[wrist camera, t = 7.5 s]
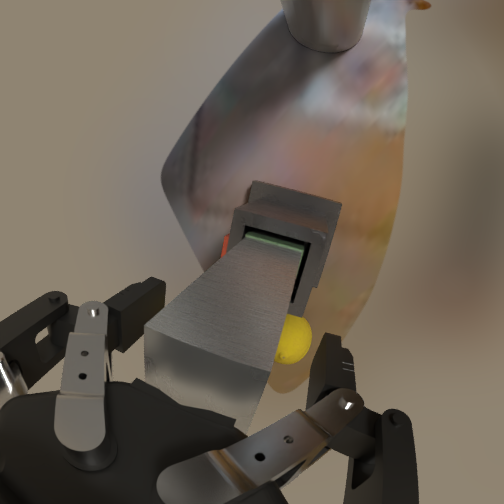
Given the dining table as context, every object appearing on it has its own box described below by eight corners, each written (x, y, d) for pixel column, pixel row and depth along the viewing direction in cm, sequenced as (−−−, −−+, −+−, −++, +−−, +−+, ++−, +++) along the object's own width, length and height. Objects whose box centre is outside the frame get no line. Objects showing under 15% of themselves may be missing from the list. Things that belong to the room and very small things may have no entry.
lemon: (277, 341, 36) (265, 379, 29) (266, 306, 35) (251, 340, 28) (317, 334, 35) (314, 373, 27) (308, 298, 33) (303, 332, 26)
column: (263, 219, 25) (141, 321, 8) (307, 232, 25) (275, 370, 7) (253, 261, 27) (144, 403, 9) (295, 274, 26) (245, 443, 8)
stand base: (255, 180, 31) (219, 184, 20) (341, 202, 30) (354, 219, 18) (238, 260, 34) (199, 302, 23) (317, 283, 33) (313, 337, 21)
